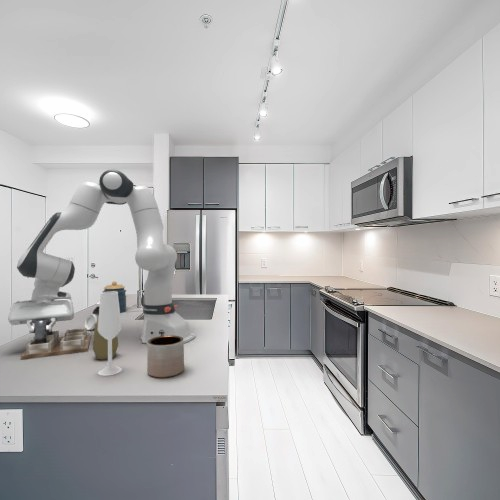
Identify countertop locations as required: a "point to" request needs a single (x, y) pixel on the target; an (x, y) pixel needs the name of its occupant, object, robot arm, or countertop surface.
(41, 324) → the pin
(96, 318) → the spread jar
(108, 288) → the canister
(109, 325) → the champagne flute
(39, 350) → the wooden compartment tray
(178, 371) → the planter
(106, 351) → the squeeze bottle
